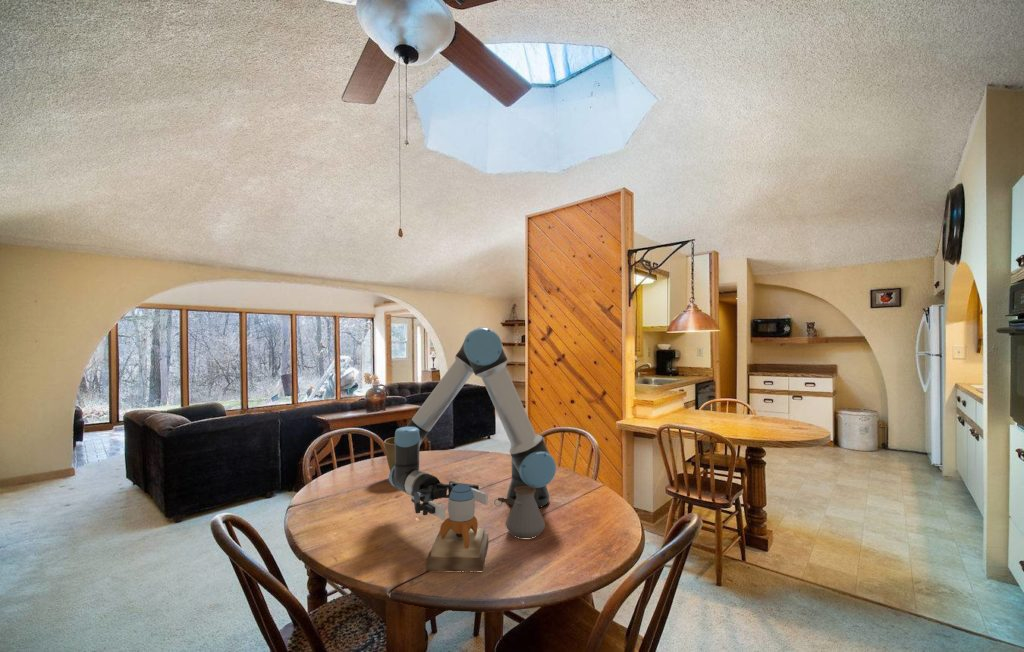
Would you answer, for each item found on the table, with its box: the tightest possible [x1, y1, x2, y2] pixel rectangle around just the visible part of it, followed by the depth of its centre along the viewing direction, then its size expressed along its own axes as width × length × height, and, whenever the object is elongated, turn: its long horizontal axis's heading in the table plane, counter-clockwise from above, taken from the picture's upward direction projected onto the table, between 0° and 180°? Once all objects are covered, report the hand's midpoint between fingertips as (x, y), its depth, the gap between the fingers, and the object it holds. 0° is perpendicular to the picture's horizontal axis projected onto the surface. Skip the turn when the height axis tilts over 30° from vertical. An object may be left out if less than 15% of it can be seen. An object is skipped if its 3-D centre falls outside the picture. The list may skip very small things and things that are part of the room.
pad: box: [425, 527, 489, 573], centre depth 109 cm, size 14×14×5 cm
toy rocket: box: [439, 483, 479, 549], centre depth 109 cm, size 10×11×15 cm
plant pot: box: [383, 436, 395, 473], centre depth 176 cm, size 15×15×16 cm
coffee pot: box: [493, 486, 546, 538], centre depth 119 cm, size 21×12×15 cm, turn 150°
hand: (466, 506), depth 107 cm, fingers open, 13 cm apart
